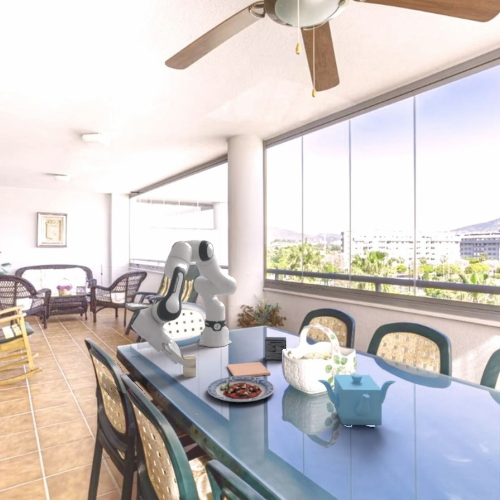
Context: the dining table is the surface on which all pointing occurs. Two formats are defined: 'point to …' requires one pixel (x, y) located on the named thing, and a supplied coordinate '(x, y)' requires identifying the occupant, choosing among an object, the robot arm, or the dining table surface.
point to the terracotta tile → (248, 369)
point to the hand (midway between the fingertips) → (185, 362)
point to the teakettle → (357, 399)
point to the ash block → (189, 366)
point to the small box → (274, 348)
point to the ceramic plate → (241, 388)
